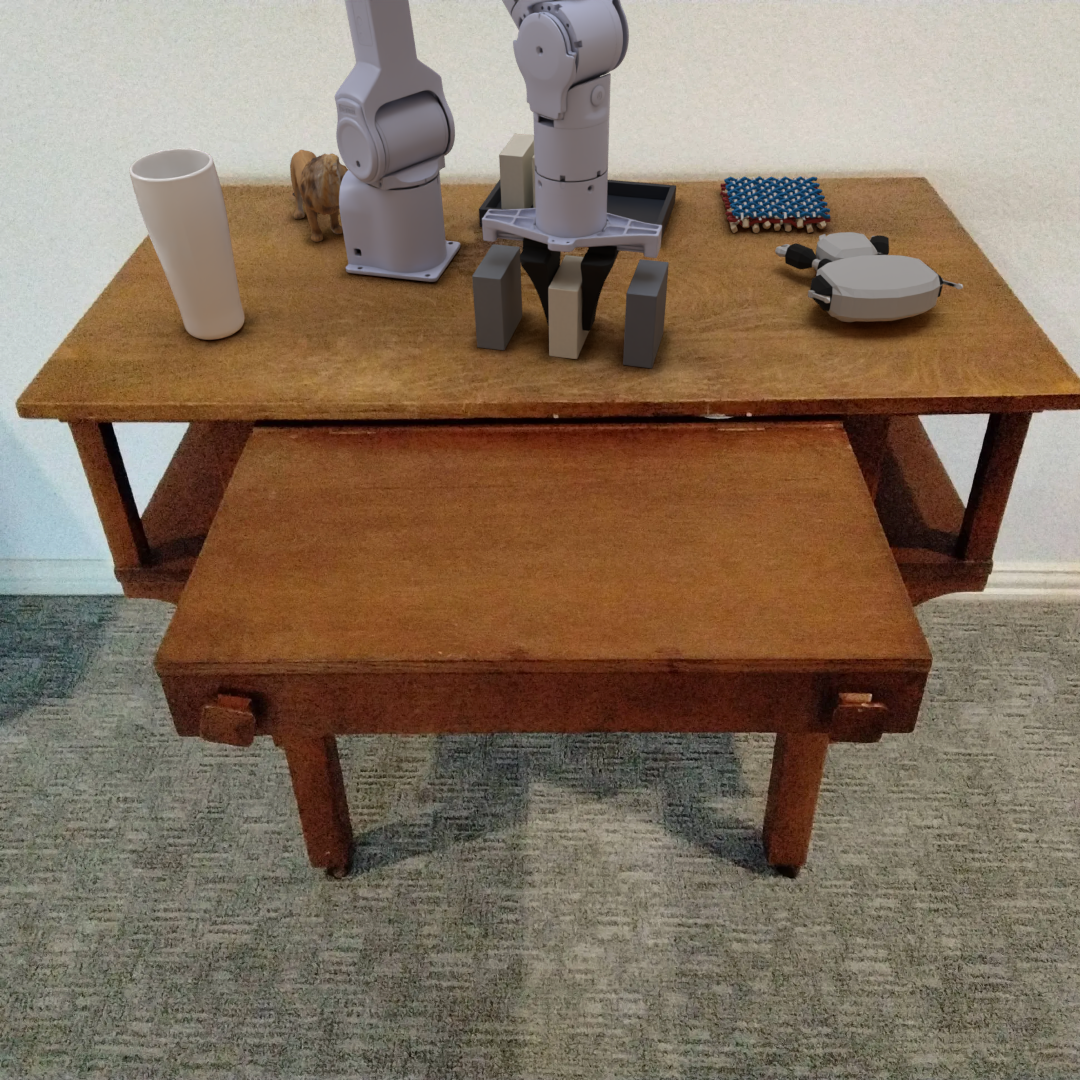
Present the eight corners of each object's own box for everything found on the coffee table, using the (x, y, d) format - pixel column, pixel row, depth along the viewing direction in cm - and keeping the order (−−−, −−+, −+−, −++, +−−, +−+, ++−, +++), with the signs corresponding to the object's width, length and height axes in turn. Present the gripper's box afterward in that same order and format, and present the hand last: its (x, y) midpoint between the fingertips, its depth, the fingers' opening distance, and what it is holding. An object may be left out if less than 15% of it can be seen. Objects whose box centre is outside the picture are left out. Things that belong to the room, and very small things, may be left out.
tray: (479, 227, 103) (478, 208, 101) (506, 188, 110) (505, 170, 108) (659, 244, 99) (661, 225, 97) (675, 203, 106) (676, 185, 105)
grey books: (477, 347, 85) (471, 276, 80) (496, 313, 89) (492, 243, 85) (652, 368, 82) (657, 296, 77) (663, 332, 86) (668, 261, 82)
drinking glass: (218, 354, 85) (170, 186, 75) (162, 335, 88) (108, 170, 77) (269, 319, 89) (231, 155, 79) (214, 302, 92) (170, 141, 82)
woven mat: (717, 191, 108) (719, 173, 107) (813, 191, 107) (816, 173, 106) (726, 233, 100) (728, 214, 99) (830, 233, 100) (834, 214, 98)
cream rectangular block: (548, 356, 84) (548, 287, 79) (565, 321, 88) (565, 254, 84) (577, 359, 83) (577, 291, 79) (592, 324, 88) (593, 257, 83)
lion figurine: (373, 242, 100) (360, 155, 94) (325, 256, 98) (309, 168, 92) (315, 194, 110) (300, 112, 103) (271, 206, 107) (253, 122, 101)
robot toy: (763, 275, 95) (823, 344, 84) (769, 230, 92) (831, 295, 81) (882, 263, 97) (957, 330, 85) (891, 218, 94) (969, 281, 82)
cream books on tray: (501, 215, 103) (498, 154, 99) (517, 192, 108) (514, 133, 103) (556, 220, 102) (555, 159, 98) (569, 197, 106) (569, 137, 102)
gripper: (466, 180, 74) (477, 336, 83) (655, 196, 71) (645, 356, 80) (492, 145, 79) (500, 296, 88) (670, 159, 76) (659, 314, 85)
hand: (570, 322), depth 84 cm, fingers closed on cream rectangular block, 2 cm apart
